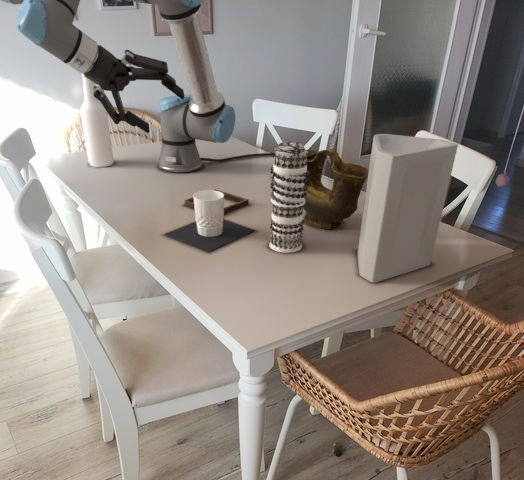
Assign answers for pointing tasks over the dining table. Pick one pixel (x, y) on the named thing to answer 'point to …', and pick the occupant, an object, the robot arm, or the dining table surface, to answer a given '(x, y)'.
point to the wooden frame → (240, 200)
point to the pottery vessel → (331, 201)
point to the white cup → (209, 212)
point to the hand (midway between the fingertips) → (165, 112)
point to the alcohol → (95, 128)
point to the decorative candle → (288, 196)
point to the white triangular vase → (403, 204)
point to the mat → (209, 244)
